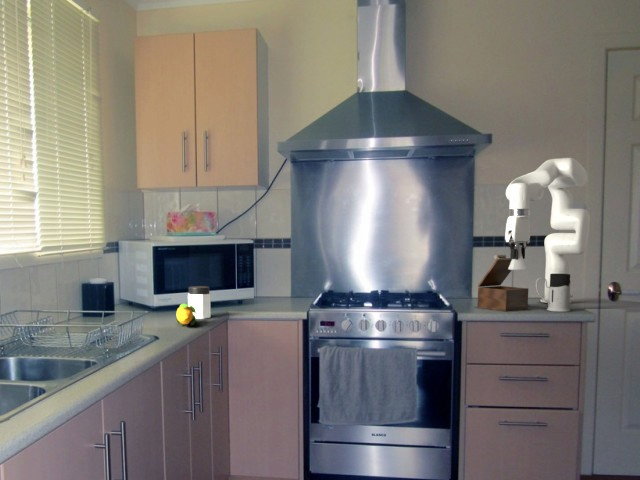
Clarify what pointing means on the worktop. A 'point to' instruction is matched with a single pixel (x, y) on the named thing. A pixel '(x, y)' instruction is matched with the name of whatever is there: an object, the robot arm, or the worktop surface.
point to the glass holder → (558, 292)
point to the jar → (200, 301)
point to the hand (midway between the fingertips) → (517, 258)
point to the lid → (497, 272)
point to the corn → (185, 314)
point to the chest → (503, 298)
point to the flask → (518, 261)
